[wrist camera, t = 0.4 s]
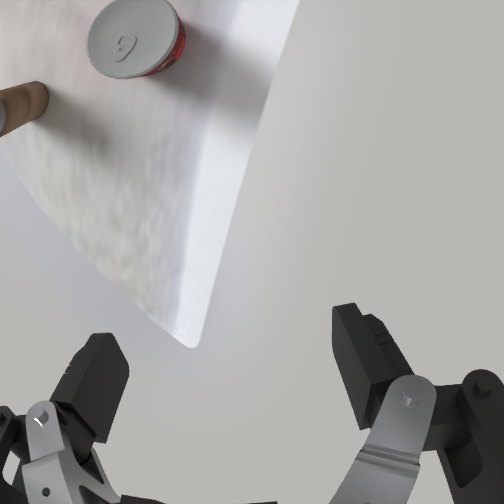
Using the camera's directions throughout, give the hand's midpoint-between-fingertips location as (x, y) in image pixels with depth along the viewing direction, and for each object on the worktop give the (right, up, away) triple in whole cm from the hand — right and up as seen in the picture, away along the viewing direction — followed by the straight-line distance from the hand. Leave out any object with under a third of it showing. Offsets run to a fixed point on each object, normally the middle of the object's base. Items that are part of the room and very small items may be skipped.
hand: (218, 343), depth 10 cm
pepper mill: (-26, +22, +15) cm, 37 cm away
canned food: (-10, +26, +15) cm, 32 cm away
